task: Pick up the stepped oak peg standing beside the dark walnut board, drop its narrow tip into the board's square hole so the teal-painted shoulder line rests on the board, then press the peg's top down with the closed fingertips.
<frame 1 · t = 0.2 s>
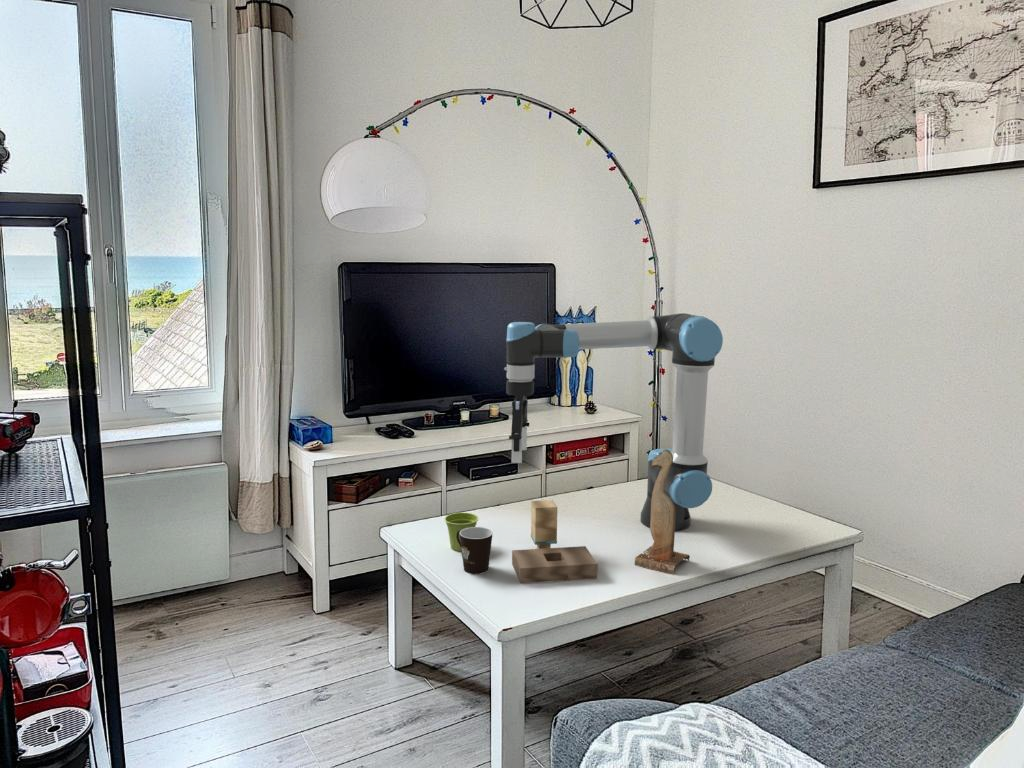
hand: (519, 456, 215), 27 cm above the table, tool pointing down, fingers open, 13 cm apart
oak peg: (543, 552, 217), on the table
walnut board: (553, 571, 204), on the table
bird sculpture: (662, 564, 210), on the table
coffee mug: (474, 567, 207), on the table
plant pot: (461, 548, 220), on the table
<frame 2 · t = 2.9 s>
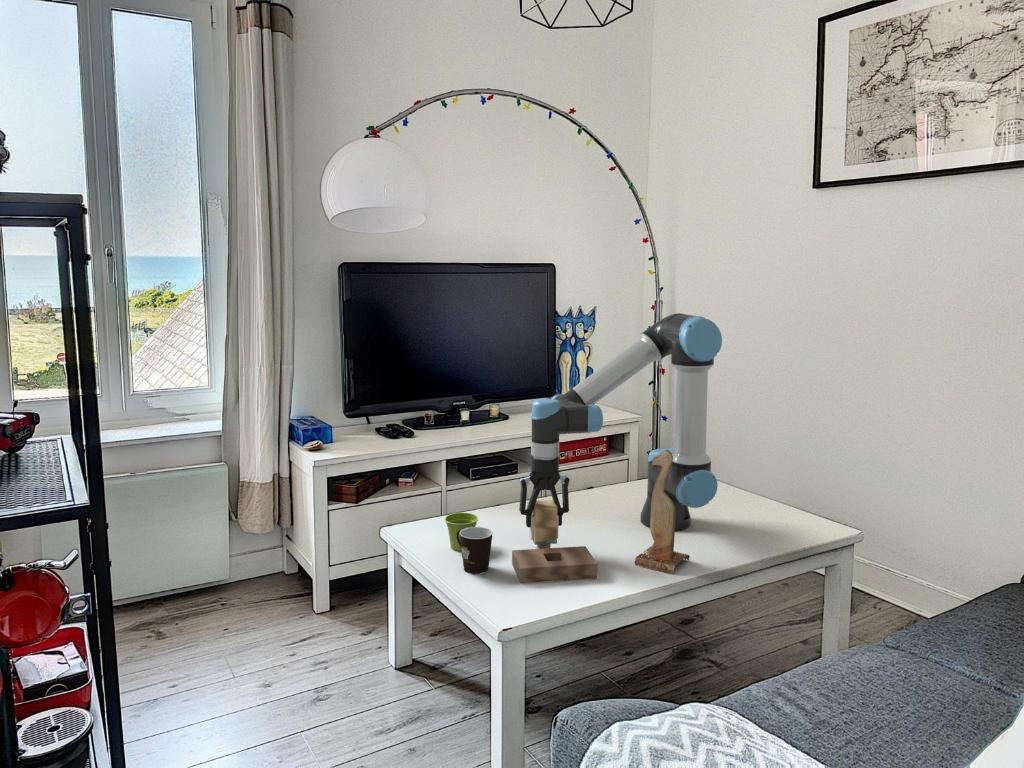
hand: (543, 537, 216), 4 cm above the table, tool pointing down, fingers closed on oak peg, 6 cm apart
oak peg: (543, 552, 217), on the table, touching gripper
everything else where it was.
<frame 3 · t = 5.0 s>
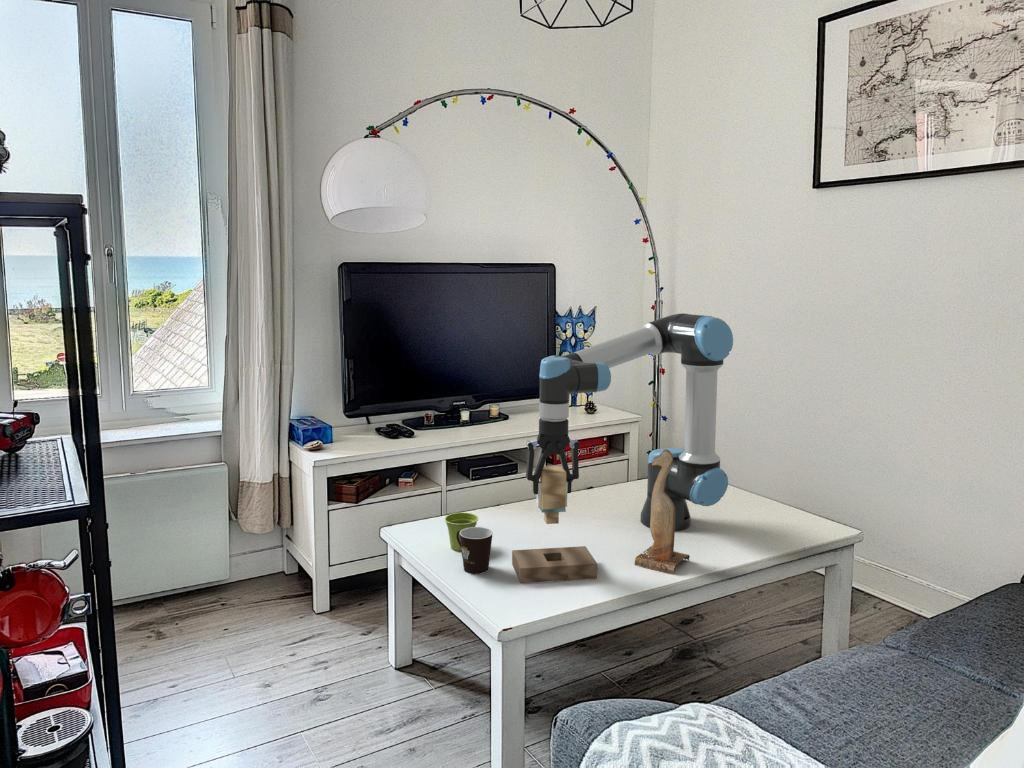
hand: (551, 505, 203), 17 cm above the table, tool pointing down, fingers closed on oak peg, 6 cm apart
oak peg: (551, 521, 204), point 13 cm above the table, touching gripper
everything else where it was.
when the fingers open (6 cm above the table, at t = 7.1 s): oak peg drops 2 cm, resting on walnut board.
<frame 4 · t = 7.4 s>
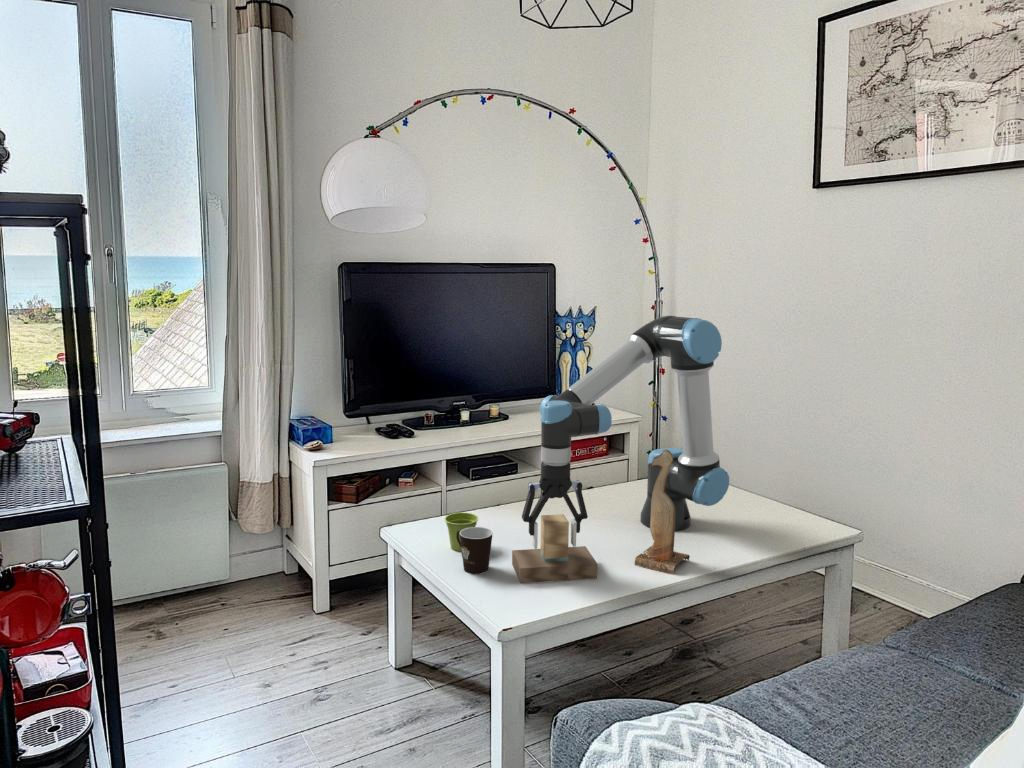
hand: (554, 545, 203), 7 cm above the table, tool pointing down, fingers open, 9 cm apart
oak peg: (553, 569, 204), resting on walnut board
everything else where it was.
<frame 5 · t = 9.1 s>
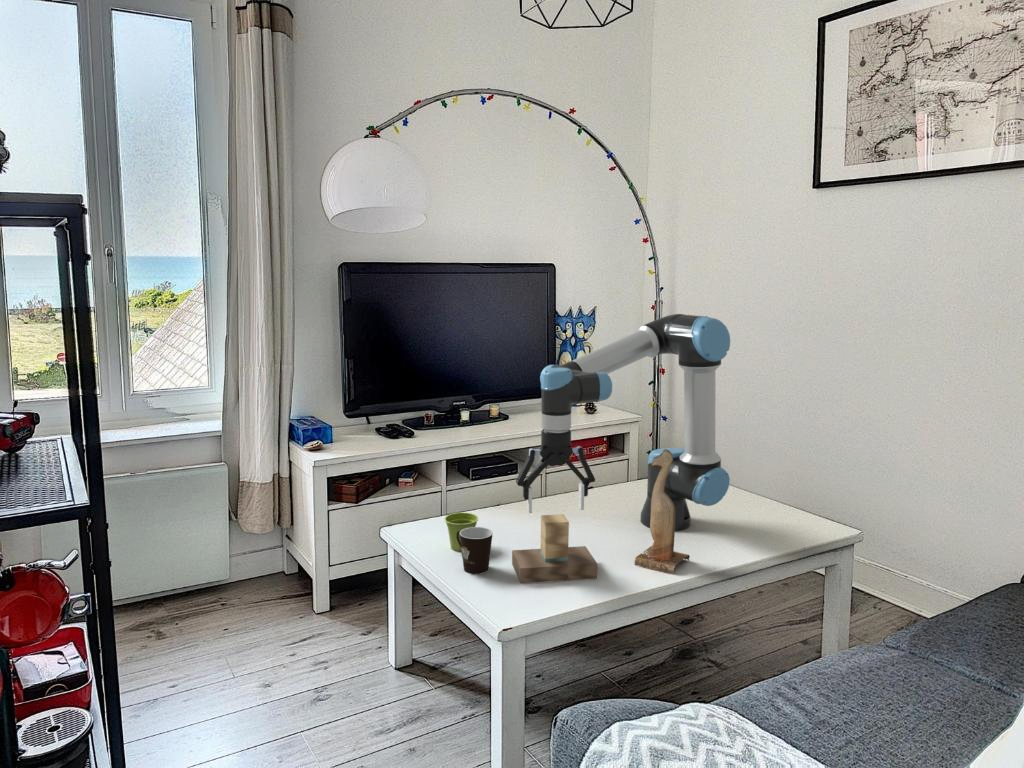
hand: (555, 510, 202), 17 cm above the table, tool pointing down, fingers open, 13 cm apart
nothing on the table moved.
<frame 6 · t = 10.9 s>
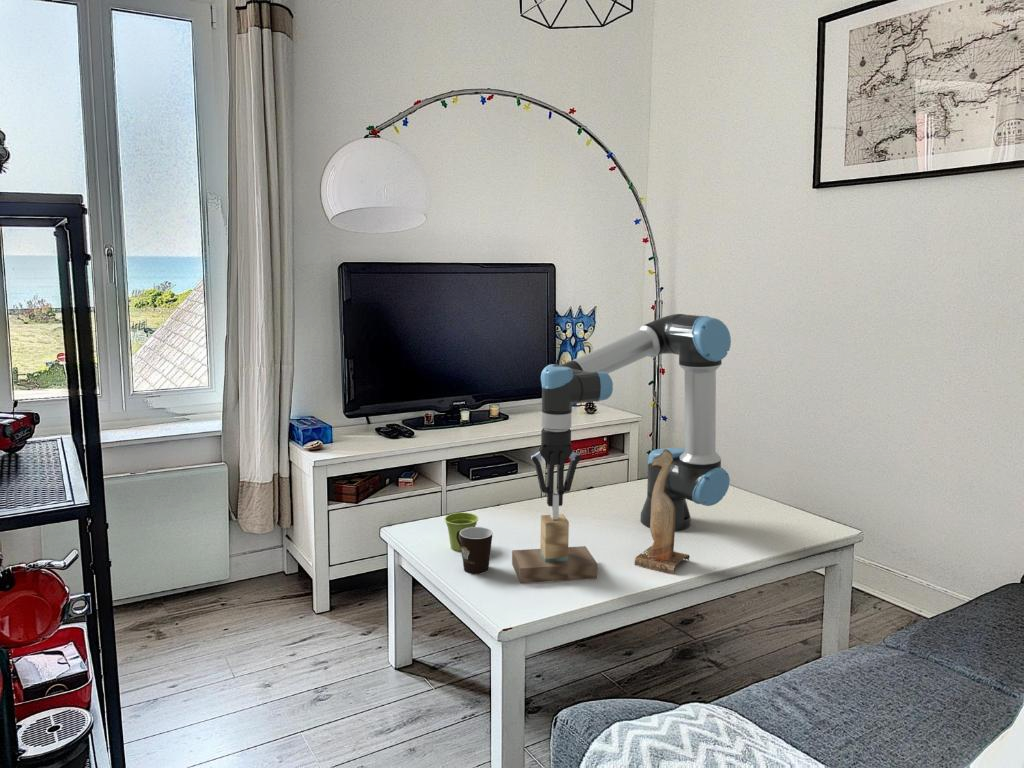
hand: (554, 517, 202), 15 cm above the table, tool pointing down, fingers closed
oak peg: (553, 569, 204), resting on walnut board, touching gripper
everything else where it was.
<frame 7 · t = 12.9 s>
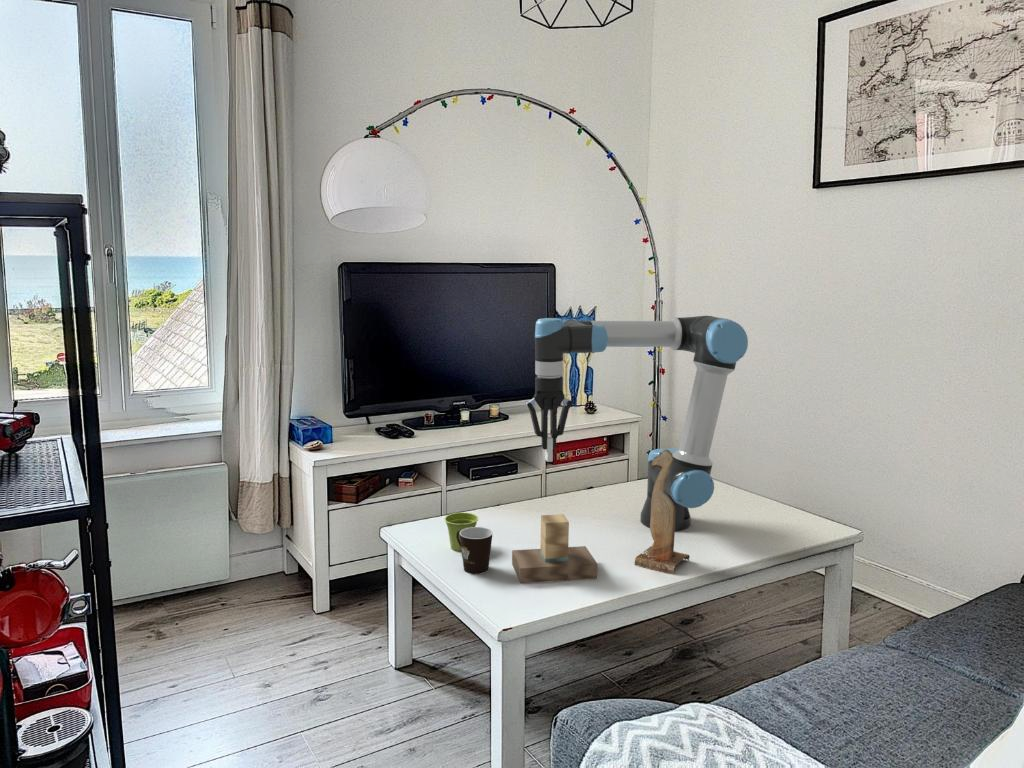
hand: (548, 460, 216), 25 cm above the table, tool pointing down, fingers closed
oak peg: (553, 569, 204), resting on walnut board
everything else where it was.
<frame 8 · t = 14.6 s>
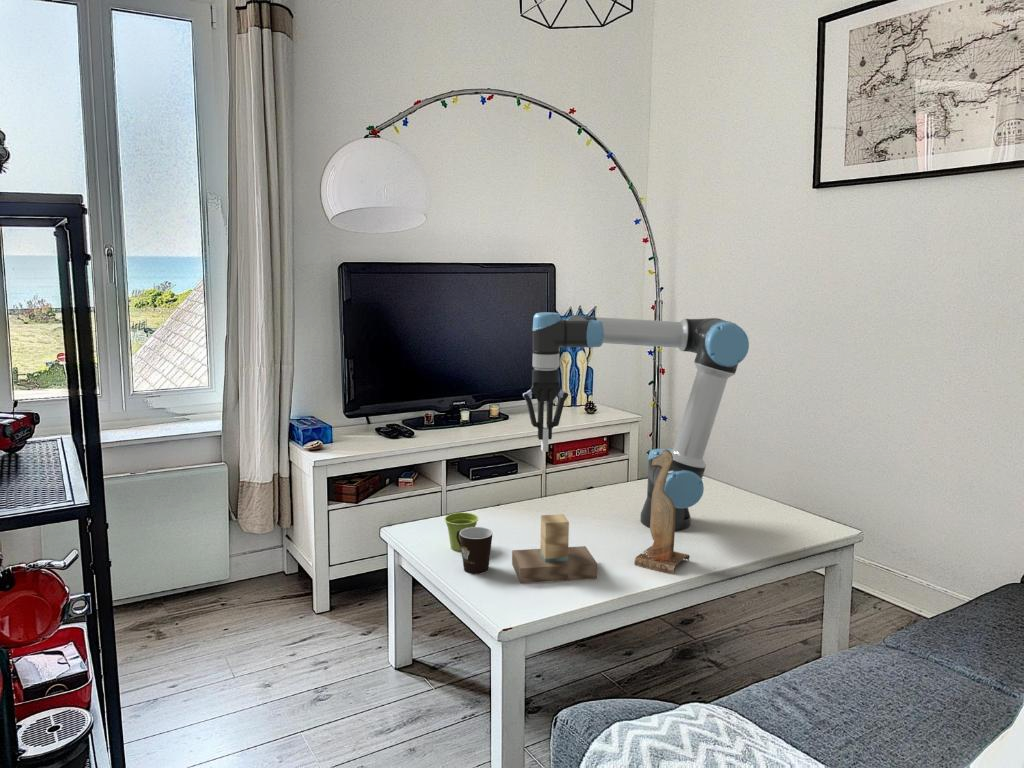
hand: (544, 450, 223), 26 cm above the table, tool pointing down, fingers closed
nothing on the table moved.
at the end: oak peg 0.0 cm off-centre on the walnut board, point 0.4 cm above the walnut board's base; oak peg tilted 0°; the gripper is holding nothing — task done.
